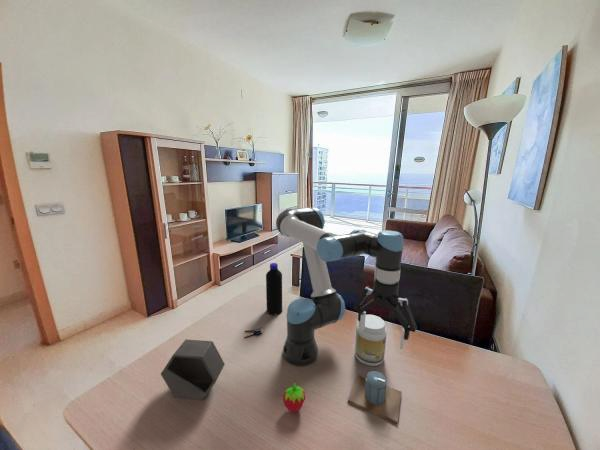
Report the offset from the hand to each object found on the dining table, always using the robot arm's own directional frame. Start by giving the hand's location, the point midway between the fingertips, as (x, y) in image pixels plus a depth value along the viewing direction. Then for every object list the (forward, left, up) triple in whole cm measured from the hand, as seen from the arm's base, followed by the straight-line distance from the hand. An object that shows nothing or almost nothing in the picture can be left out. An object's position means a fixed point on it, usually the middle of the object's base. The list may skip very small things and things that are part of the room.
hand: (381, 337), depth 82 cm
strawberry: (-23, -19, -23) cm, 38 cm away
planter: (-58, -29, -23) cm, 69 cm away
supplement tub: (-6, +17, -23) cm, 29 cm away
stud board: (0, -2, -23) cm, 23 cm away
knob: (0, -2, -22) cm, 22 cm away
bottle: (-61, +27, -23) cm, 71 cm away
